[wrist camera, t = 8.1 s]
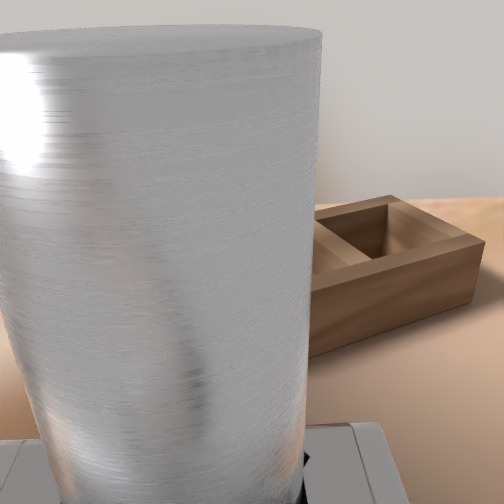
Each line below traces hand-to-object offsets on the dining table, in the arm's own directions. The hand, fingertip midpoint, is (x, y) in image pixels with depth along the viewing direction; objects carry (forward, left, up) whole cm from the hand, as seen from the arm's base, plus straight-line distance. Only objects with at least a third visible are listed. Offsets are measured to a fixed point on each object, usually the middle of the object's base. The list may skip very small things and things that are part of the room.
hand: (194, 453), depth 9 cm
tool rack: (+1, +19, -9) cm, 21 cm away
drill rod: (0, -1, -9) cm, 9 cm away
